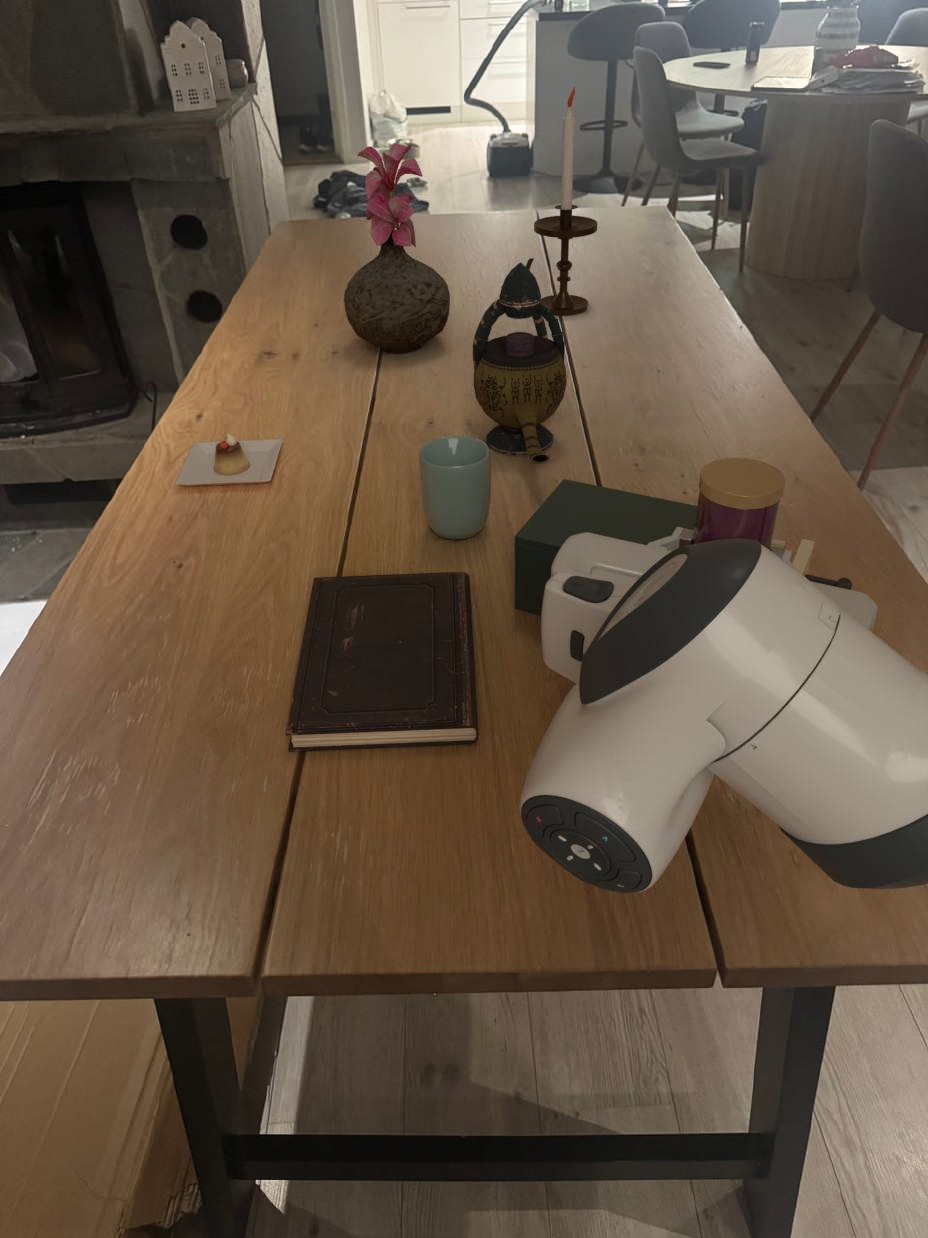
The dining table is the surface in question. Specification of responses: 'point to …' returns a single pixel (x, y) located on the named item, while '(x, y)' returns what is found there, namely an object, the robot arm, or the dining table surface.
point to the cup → (455, 485)
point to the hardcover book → (386, 664)
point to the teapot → (519, 370)
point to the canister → (738, 501)
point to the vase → (394, 267)
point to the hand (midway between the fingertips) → (732, 546)
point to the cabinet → (587, 529)
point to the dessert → (230, 462)
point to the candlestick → (566, 226)
